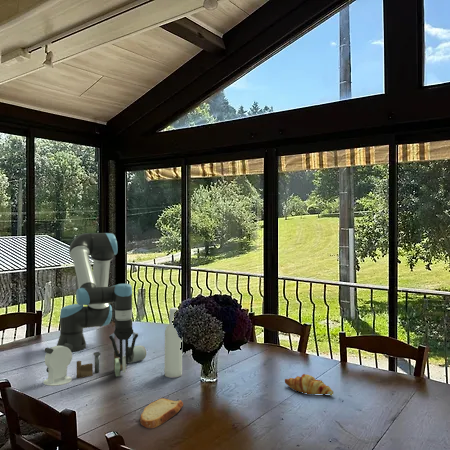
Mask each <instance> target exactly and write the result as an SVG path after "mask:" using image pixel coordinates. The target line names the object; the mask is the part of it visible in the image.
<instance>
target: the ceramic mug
mask: <svg viewBox="0 0 450 450" xmlns="http://www.w3.org/2000/svg"><path fill="white" fill-rule="evenodd" d="M130 349H131V346H128V353H129V352H130ZM146 356H147V350H146V348H145V346H144V345H134V349H133V354H132V356H129V357H128V364H129V363H130V364H133V363H136V362H140V361H143V360H144V359H145V358H146Z"/></svg>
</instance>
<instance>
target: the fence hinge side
mask: <svg viewBox="0 0 450 450" xmlns="http://www.w3.org/2000/svg"><path fill="white" fill-rule="evenodd" d="M118 353H120V350H118ZM115 358H119V357H116V355H115V352H114V351H113V371H114V372H115ZM119 363H120V358H119ZM120 371H123V366H122V365H120Z"/></svg>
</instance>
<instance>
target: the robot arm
mask: <svg viewBox="0 0 450 450" xmlns="http://www.w3.org/2000/svg"><path fill="white" fill-rule="evenodd" d="M118 248H119V247H118V241H117V238H116V235H115V234H114V233H111V232H110V233H109V232H96V233H95V232H91V233H89V232H87V233H86V232H85V233H81V234H78V235H77V236H76V237H75V238H74V239H73V240H72V241H71V244H70V245H69V249H68V250H69V251H68V253H69V257H70V259H71V260H72V261H73V266H74V270H75V275H76V279H77V284H78V288H77V289H76V291H75V299H76V300H75V301H76V303H73V304H69V305H66V306H63V307H61V309H60V315H59V319H60V320H59V321H60V323H59V324H60V327H59V338H58V340H57V343H56V346H64V344H65V343H67V344H71V345H72V346H73V349H72V350H71V352H72V353H73V352H74V353H76V352H80V351H83V350H85V349H86V348H87V342H86V338H85V336H84V329H87V328H96V327H100V328H101V327H103V326H104V327H105V326H108V325H109V324H110V323H111V321H112V317H113V307H112V305H111V304H113V303H114V319H115V320H114V330H113V333H111V334H109V337H108V338H109V339H110V341H111V343H112V348H113V353H114V352H115V355H116V357H119V358H120V365H122V366H123V370H122V373H126V372H127V365H128V364H129V362H128V357H129V356H132V354H133V349H134V346H136V342H137V338H138V337H139V333H138V332H135V331H134V328H133V287H132V285H131V283H118V284H115V285H112V286H109V280H110V279H109V277H110V265H111V261H112V260H113V259H114V256H116V255H117V254H118ZM90 259H91V260H92V261H93V263H92V265H93V266H92V265H91V261H90ZM131 337H132V342H131V346H130V347H131V349H130V352H129V353H128V347H129V339H130V338H131ZM115 338H117V340H119V349H118V348H117V347H118V346H117V342H116V339H115ZM124 340H125V341H124ZM123 341H124V344H125V346H124V348H125V352H124V353H123V350H124V349H123ZM118 351H119V353H118Z"/></svg>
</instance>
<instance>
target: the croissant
mask: <svg viewBox="0 0 450 450" xmlns="http://www.w3.org/2000/svg"><path fill="white" fill-rule="evenodd" d="M284 383H285V384H286V385H287V386H288V387H289V388H290V389H291V388H292V389H291V390H293V389H294V390H293V391H295V390H296V391H295V392H297V391H299V392H303V393H302V394H304V393H307V394H330V395H331V396H332V394H333V395H334V390H332V388H331V387H330V386H329V385H326V384H325V383H324V381H323V380H321V379H316V378H315V377H314V376H313V375H309V374H305V373H303V374H302V375H301V376H298V375H297V376H296V377H295V378H293V377H289V378H284ZM299 392H298V393H299ZM307 394H306V395H307Z"/></svg>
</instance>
